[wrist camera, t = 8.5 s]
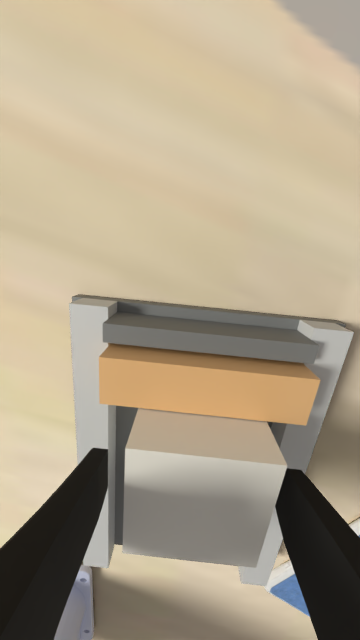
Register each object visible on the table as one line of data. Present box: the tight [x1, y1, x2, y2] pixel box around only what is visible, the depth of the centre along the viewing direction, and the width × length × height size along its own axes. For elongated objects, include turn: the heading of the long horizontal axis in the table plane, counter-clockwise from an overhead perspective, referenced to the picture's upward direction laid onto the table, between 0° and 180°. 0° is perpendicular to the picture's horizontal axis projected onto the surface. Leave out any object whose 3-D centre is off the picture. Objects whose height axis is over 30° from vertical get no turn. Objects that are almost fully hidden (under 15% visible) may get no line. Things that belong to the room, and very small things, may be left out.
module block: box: [122, 408, 287, 568], centre depth 10 cm, size 5×5×4 cm
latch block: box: [99, 343, 321, 426], centre depth 9 cm, size 2×8×2 cm, turn 85°
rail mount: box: [69, 294, 354, 586], centre depth 12 cm, size 17×13×2 cm
